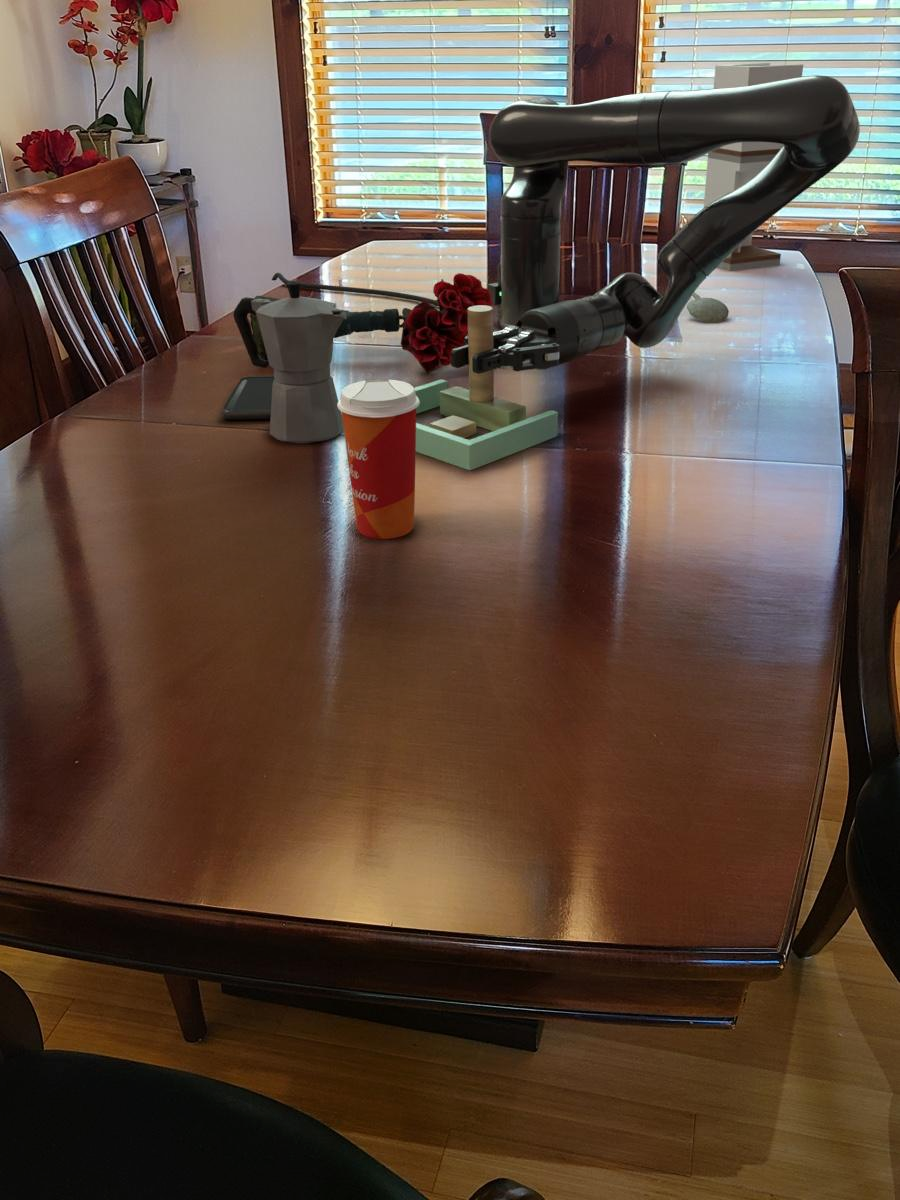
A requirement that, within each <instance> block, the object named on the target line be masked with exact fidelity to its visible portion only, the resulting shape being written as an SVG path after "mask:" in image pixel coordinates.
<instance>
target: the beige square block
mask: <svg viewBox="0 0 900 1200" xmlns="http://www.w3.org/2000/svg"><path fill="white" fill-rule="evenodd" d="M429 427H430V428H434V429H437V430H440V431H443V432H446V433H449V434H452V435H455V436H458V437H461V438H464V439H468V438H470V437H472V436H475V435H477V426H476V422H473V421H470V420H467V419H464V418H461V417H457V416H454V415H452V416H449V417H447V416H445V417H444V418H441V419H438V420H435V421H432V422H430V423H429Z"/></svg>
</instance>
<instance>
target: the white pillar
mask: <svg viewBox="0 0 900 1200" xmlns="http://www.w3.org/2000/svg"><path fill="white" fill-rule="evenodd" d="M803 71H804V64H801V63H797V64H781V65H779V64H778V65H771V62H758V63H757V62H756V63H753V62H752V63H736V64H735V63H733V64H715V66H714V79H713V80H714V81H713V89H716V88H733V87H745V86H752V85H758V84H764V83H769V82H775V81H781V80H786V79H792V78H798V77H803ZM782 146H783V144H780V143H771V142H741V143H734V144H729V145H726V146H723V147H720V148H718V149H716V150H714V151H712V152H710V153H708V154H707V160H706V161H707V162H706V174H705V175H706V176H705V185H704V186H705V187H704V197H703V198H704V199H703V208H704V207H706V206H707V205H709V204H710V203H712V202H713V201H715V200H717V199H719V198H721V197H722V196H724V195H726V194H728V193H730V192H731V191H733V190H735V189H737V188H739V187H740V186H742V185H744V184H745V183H747V182H748V181H749V180H751V179H752V178H753V177H755V176H756V175H757V174H758V173H759V172H761V171H762V170H763V169H764V168H765V167H766V166H767V165H768V164H769V163H770V161H771V160H772V159H773V158H774V157H775V155H776V154H777V153H778V152H779V150H780V149H781V148H782ZM752 240H753V233H752V234H750V235H749V236H748V237H747V238H746V239H745V240H744V241H743V242H742V243H741V244H740V245H739V246H738V247H736V248H735V249H734V250H733V251H732V252H731V253H730V254H729V255H728V257H727V258H726V259H725V260H724V261H723V262H722V263H721V264H720V265H719V266H718V267H717V268H720V269H723V270H727V271H730V272H731V271H738V270H739V271H740V270H747V269H756V268H764V267H773V266H780V264H781V258H782V253H779V252H776V251H772V250H769V249H765V248H761V247H758V246H755V245H752V242H753V241H752Z"/></svg>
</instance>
